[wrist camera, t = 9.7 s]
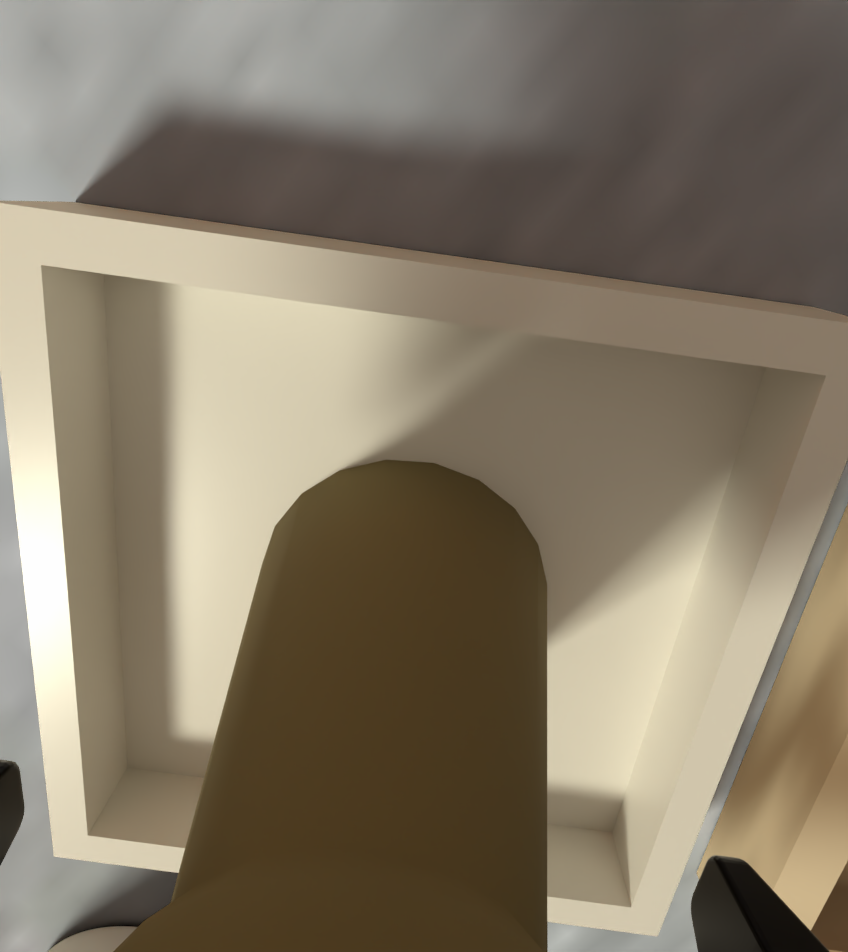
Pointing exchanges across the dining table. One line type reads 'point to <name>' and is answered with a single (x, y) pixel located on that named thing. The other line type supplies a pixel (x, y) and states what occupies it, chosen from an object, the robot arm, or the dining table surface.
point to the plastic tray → (405, 439)
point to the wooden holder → (801, 767)
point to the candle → (95, 940)
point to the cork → (378, 734)
